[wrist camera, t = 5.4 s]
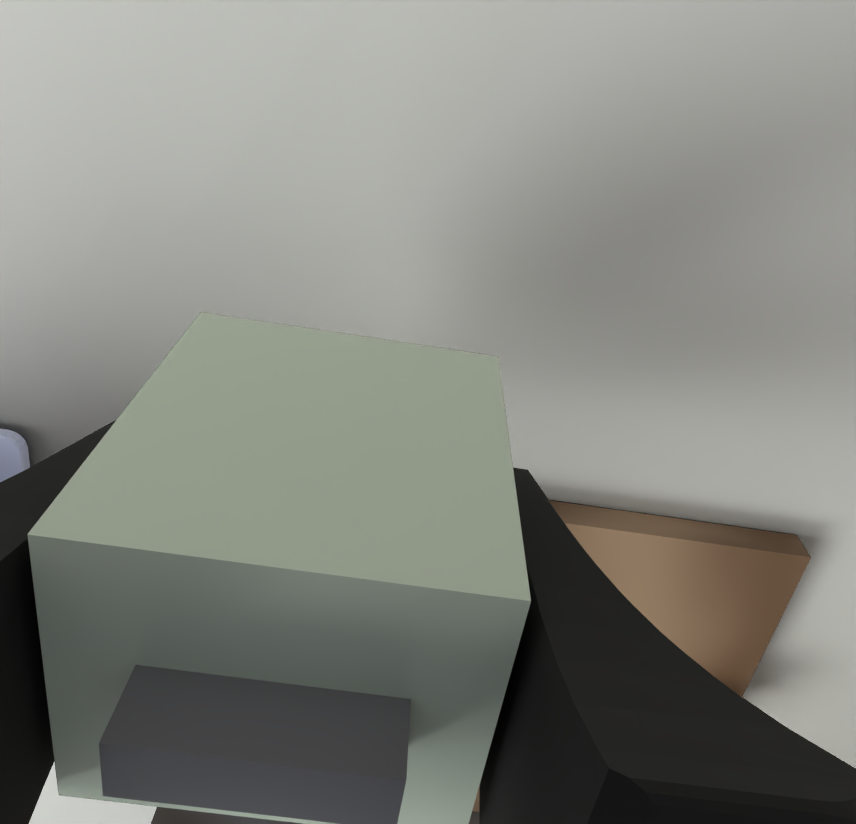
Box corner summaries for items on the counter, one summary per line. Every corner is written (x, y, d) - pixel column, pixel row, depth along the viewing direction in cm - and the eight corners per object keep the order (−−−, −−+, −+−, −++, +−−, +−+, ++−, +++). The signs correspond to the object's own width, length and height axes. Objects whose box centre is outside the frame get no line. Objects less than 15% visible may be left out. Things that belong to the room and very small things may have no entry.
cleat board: (177, 771, 28) (115, 950, 23) (175, 448, 22) (87, 594, 16) (657, 829, 29) (703, 1013, 24) (797, 535, 23) (902, 701, 17)
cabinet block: (198, 507, 15) (17, 877, 9) (200, 312, 13) (-29, 605, 7) (458, 543, 15) (464, 926, 9) (497, 356, 13) (541, 678, 7)
